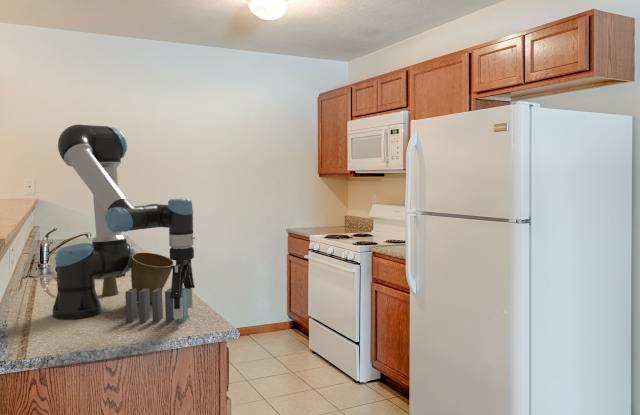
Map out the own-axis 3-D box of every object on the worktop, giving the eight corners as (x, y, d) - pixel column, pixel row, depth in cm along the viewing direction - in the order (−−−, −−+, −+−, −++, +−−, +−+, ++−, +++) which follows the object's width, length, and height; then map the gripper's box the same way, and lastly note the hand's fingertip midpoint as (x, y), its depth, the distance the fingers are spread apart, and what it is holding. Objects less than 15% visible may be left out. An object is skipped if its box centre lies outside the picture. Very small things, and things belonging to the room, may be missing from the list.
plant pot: (173, 304, 197) (182, 264, 194) (141, 311, 184) (151, 269, 181) (146, 288, 204) (155, 250, 201) (114, 294, 191) (123, 253, 188)
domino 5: (178, 322, 168) (177, 291, 168) (182, 318, 173) (181, 288, 173) (184, 322, 168) (183, 291, 168) (188, 317, 173) (187, 288, 173)
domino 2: (139, 322, 168) (138, 291, 168) (144, 318, 173) (143, 288, 173) (145, 322, 168) (144, 291, 168) (150, 318, 173) (149, 288, 173)
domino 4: (165, 322, 168) (164, 291, 168) (170, 318, 173) (169, 288, 173) (171, 322, 168) (170, 291, 168) (175, 318, 173) (174, 288, 173)
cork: (112, 296, 204) (111, 268, 204) (98, 295, 206) (97, 268, 205) (121, 292, 210) (120, 265, 209) (108, 292, 211) (106, 265, 211)
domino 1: (126, 322, 168) (125, 292, 168) (132, 318, 173) (131, 288, 173) (132, 322, 168) (130, 292, 168) (137, 318, 173) (136, 288, 173)
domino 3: (152, 322, 168) (151, 291, 168) (157, 318, 173) (156, 288, 173) (158, 322, 168) (157, 291, 168) (163, 318, 173) (162, 288, 173)
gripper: (183, 252, 157) (185, 323, 159) (201, 241, 181) (203, 303, 183) (158, 252, 157) (160, 323, 159) (180, 241, 181) (181, 303, 183)
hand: (183, 313), depth 171 cm, fingers open, 12 cm apart
